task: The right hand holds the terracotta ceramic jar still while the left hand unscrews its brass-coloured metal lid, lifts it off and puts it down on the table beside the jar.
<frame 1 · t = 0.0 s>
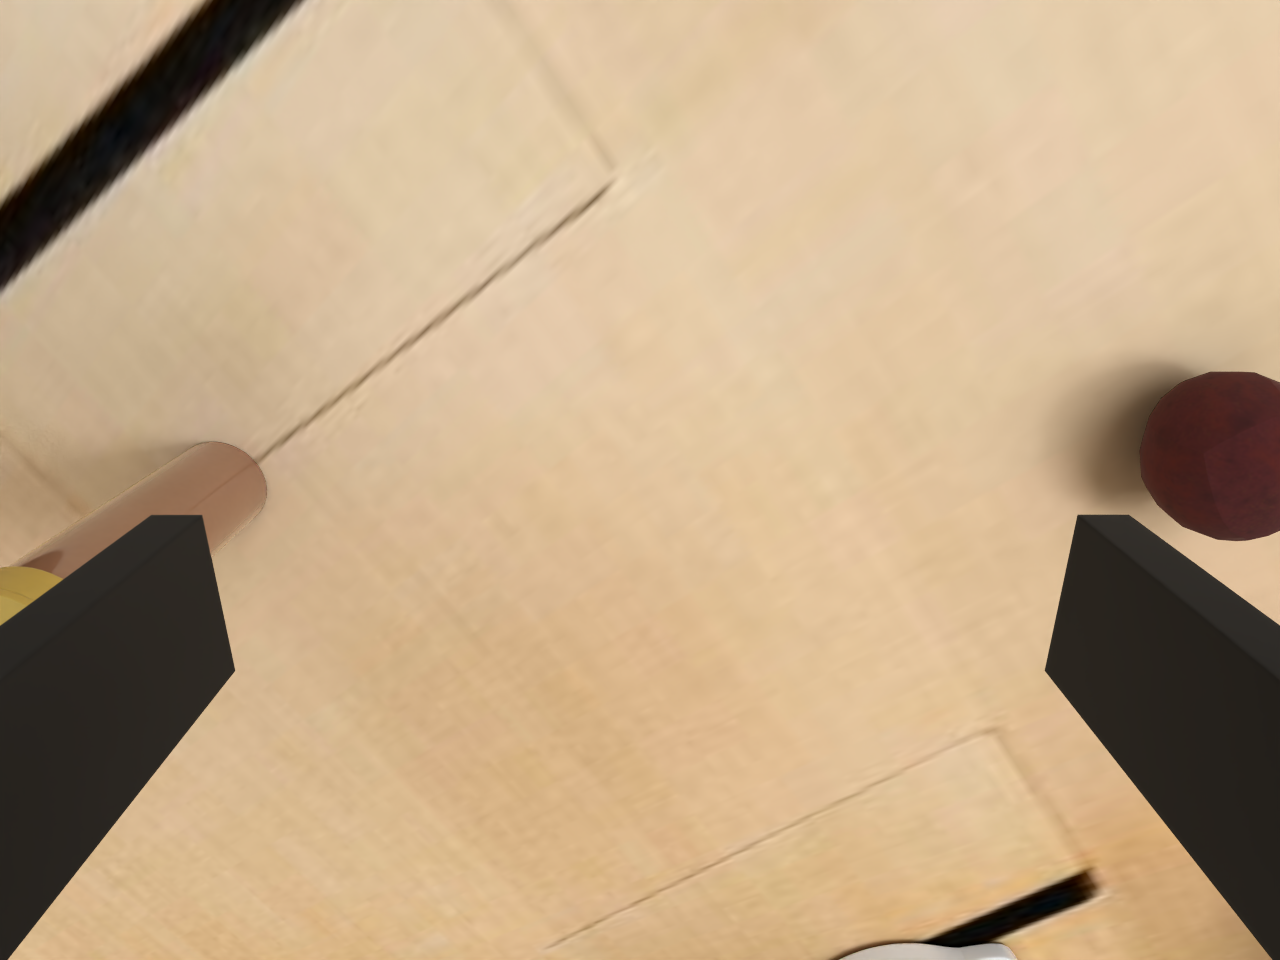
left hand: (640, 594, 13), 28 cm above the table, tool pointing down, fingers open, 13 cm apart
lid: (5, 653, 28), point 15 cm above the table, screwed on, not yet turned
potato: (1181, 428, 41), on the table
jar: (221, 484, 42), on the table
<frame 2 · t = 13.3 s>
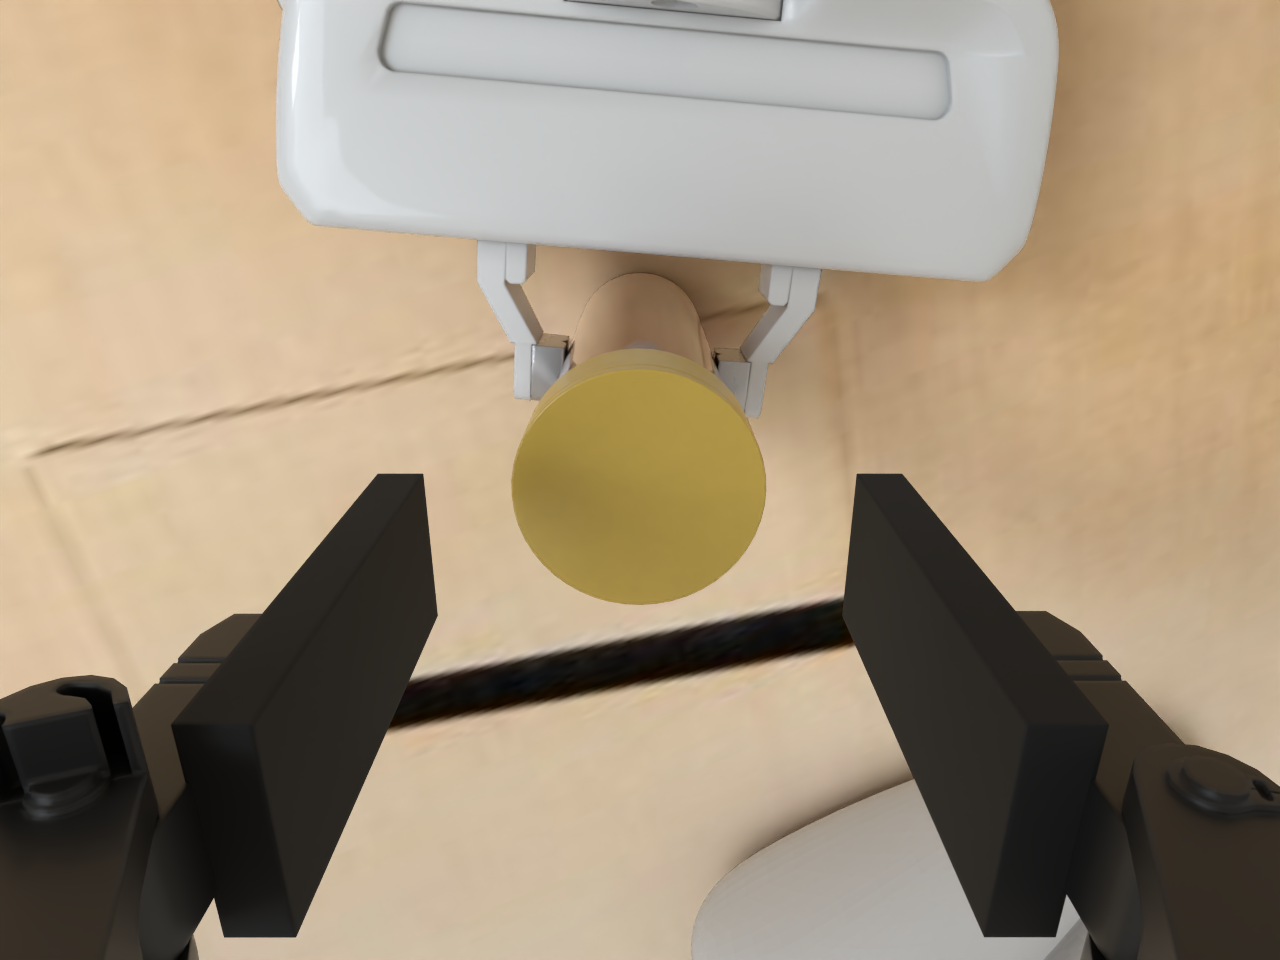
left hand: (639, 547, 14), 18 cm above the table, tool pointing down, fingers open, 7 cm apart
right hand: (638, 404, 26), fingers closed on jar, 4 cm apart
projector: (938, 859, 41), on the table
lid: (638, 487, 17), point 15 cm above the table, screwed on, not yet turned
jar: (639, 334, 31), on the table, touching right hand
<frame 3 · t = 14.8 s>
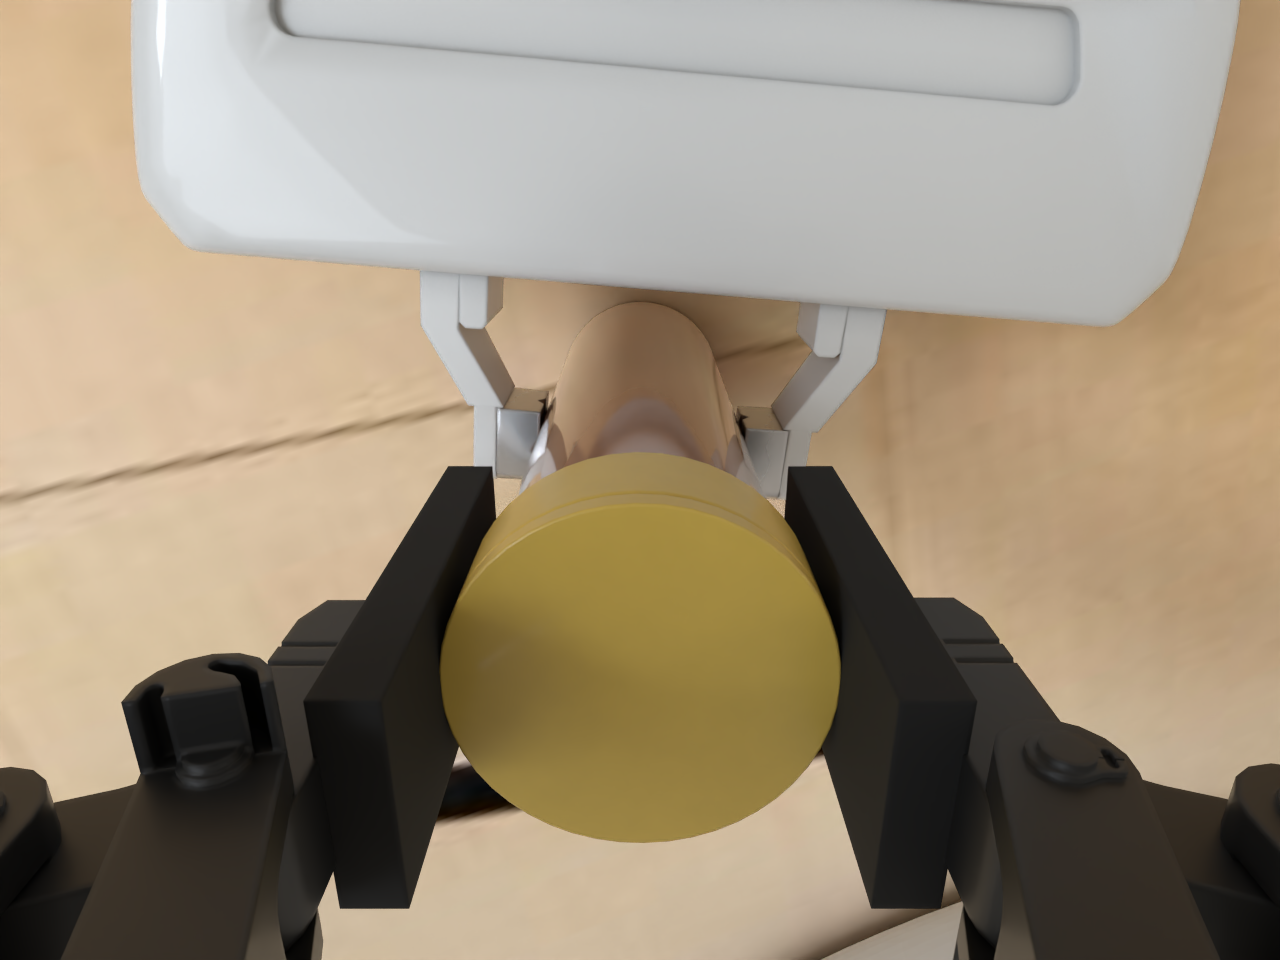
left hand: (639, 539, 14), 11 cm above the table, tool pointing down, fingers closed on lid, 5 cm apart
right hand: (639, 481, 20), fingers closed on jar, 4 cm apart
lid: (640, 673, 11), point 15 cm above the table, screwed on, not yet turned, touching left hand
jar: (640, 377, 25), on the table, touching right hand
when the left hand's fingers open (0 cm above the table, at t = 23.5 s): lid drops 3 cm, point 2 cm above the table.
when the right hand's fingers open (6 cm above the table, at t = 24.7 s): jar stays where it is, on the table.
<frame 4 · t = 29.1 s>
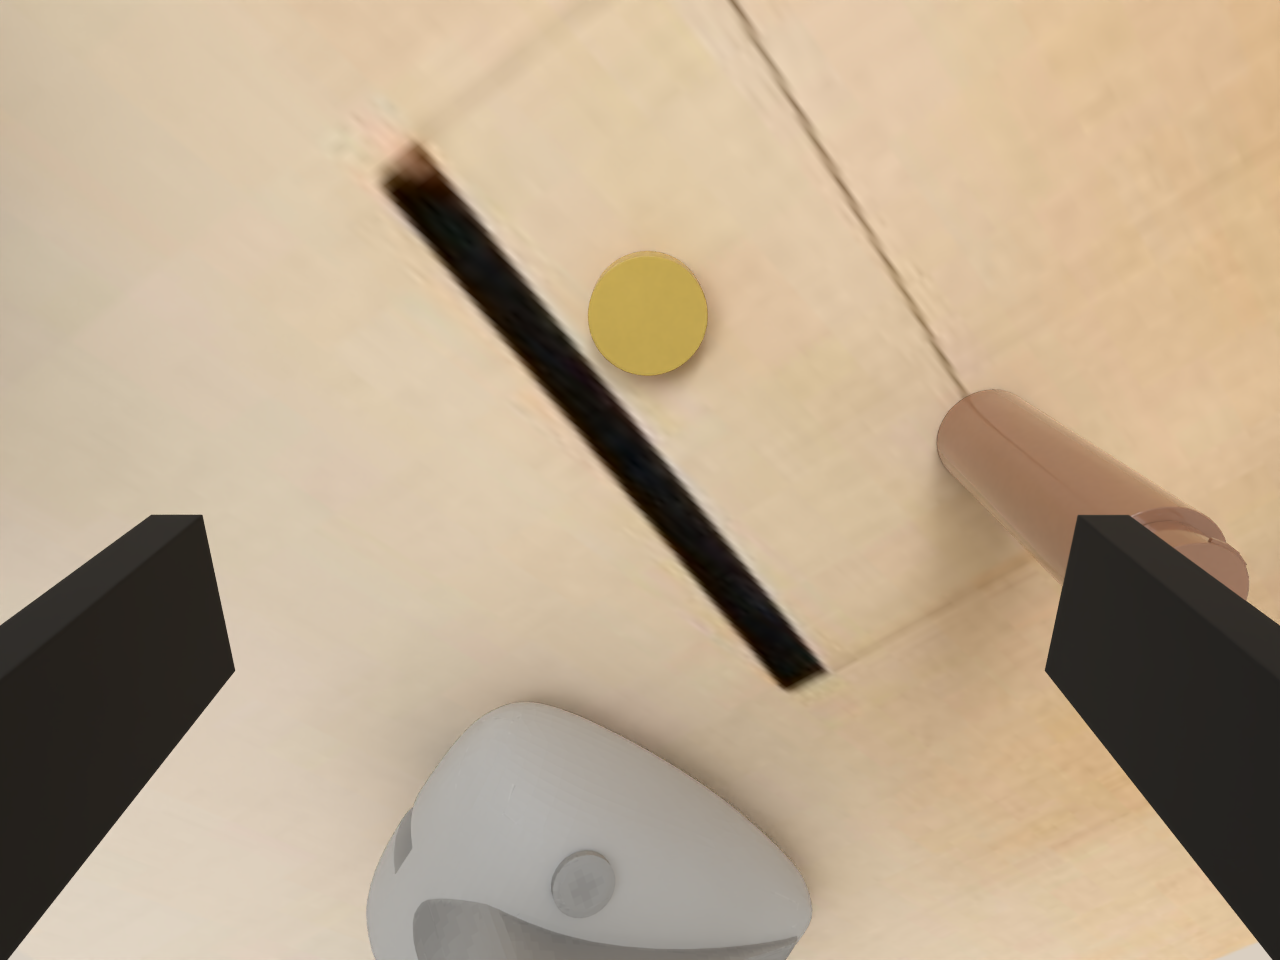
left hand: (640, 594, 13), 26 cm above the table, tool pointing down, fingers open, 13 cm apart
projector: (614, 830, 48), on the table
lid: (647, 315, 35), point 2 cm above the table, off its thread
jar: (985, 436, 39), on the table
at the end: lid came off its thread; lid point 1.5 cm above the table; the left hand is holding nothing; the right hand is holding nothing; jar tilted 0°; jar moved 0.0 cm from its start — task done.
